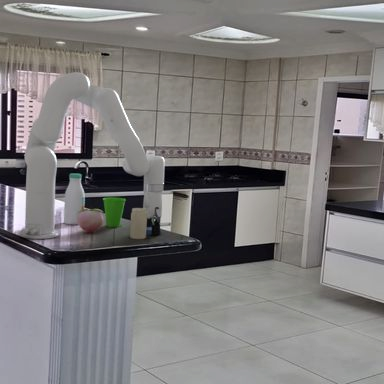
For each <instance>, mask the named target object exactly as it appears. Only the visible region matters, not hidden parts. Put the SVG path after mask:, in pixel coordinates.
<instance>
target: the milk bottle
mask: <svg viewBox="0 0 384 384" xmlns="http://www.w3.org/2000/svg"><path fill="white" fill-rule="evenodd" d="M68 175H69V176H68V177H69V182H68V185H67V188H66V189H65V192H64V208H63V209H64V210H63V223H64V224H67V225H79V224H78V216H79V214H80V213H81V212H82V211H81V212H79V211H80V210H82V209H85V204H86V202H85V201H86V198H85V191H84V188H83V185H82V176H83V175H82V174H81V173H70V174H68ZM78 212H79V213H78Z"/></svg>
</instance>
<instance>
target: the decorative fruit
mask: <svg viewBox="0 0 384 384" xmlns="http://www.w3.org/2000/svg"><path fill="white" fill-rule="evenodd" d="M81 211H82V212H81ZM79 212H81V213H80V214H79V216H78V224H77V225H78V226H79V227H80V229H82V230H83V231H85V232H87V233H89V234H91V233H93V232H95V231H97V230H98V229H100V228H101V226H102V225H103V223H104V217H103V214H105V211H104V210H102V209H99V208H92V206H90V205H89V208H84V209H82V210H80V211H79ZM79 212H78V213H79ZM102 213H103V214H102Z"/></svg>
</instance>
